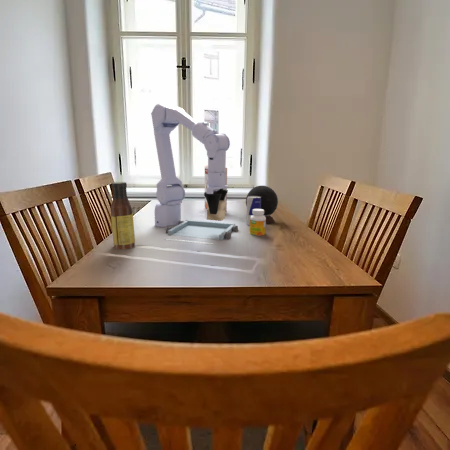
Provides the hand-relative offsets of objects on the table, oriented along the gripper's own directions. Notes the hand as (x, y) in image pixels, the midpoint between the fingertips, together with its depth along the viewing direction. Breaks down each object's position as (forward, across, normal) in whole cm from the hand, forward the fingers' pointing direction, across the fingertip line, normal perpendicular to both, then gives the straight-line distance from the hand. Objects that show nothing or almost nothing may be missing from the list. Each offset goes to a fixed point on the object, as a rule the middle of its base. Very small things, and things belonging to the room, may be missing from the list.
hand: (215, 212), depth 115 cm
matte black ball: (+9, +30, -11) cm, 33 cm away
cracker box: (+9, +46, +14) cm, 49 cm away
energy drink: (+9, +18, -10) cm, 22 cm away
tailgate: (+8, -8, +5) cm, 12 cm away
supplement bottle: (+9, +5, -14) cm, 17 cm away
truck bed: (+9, +1, +5) cm, 10 cm away
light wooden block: (+2, 0, 0) cm, 2 cm away
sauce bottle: (+9, -21, +22) cm, 32 cm away
